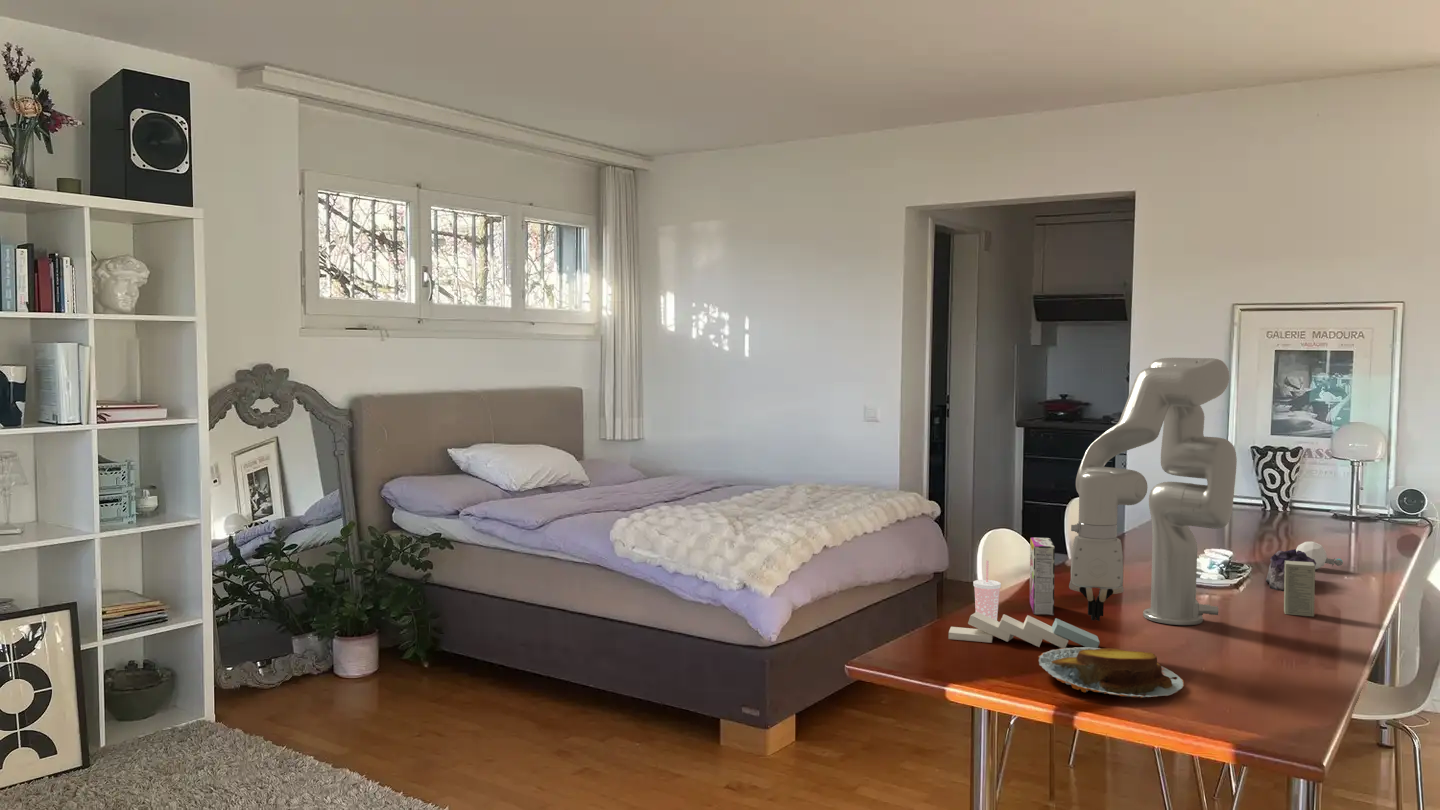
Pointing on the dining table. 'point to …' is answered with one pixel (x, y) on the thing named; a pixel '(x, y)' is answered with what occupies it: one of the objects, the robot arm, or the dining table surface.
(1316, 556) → the perfume bottle
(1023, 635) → the domino
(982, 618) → the domino
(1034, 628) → the domino
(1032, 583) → the candy bar box
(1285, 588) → the skincare box
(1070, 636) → the domino
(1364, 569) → the dining table surface
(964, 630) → the domino
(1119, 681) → the food on plate
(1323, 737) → the dining table surface
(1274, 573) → the geode
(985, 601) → the beverage cup
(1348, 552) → the dining table surface
